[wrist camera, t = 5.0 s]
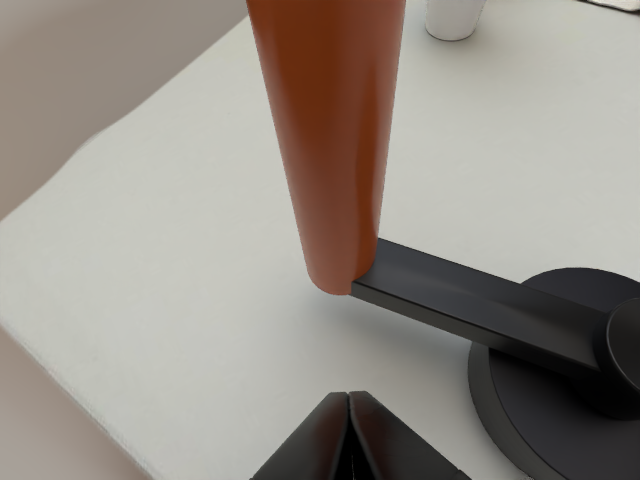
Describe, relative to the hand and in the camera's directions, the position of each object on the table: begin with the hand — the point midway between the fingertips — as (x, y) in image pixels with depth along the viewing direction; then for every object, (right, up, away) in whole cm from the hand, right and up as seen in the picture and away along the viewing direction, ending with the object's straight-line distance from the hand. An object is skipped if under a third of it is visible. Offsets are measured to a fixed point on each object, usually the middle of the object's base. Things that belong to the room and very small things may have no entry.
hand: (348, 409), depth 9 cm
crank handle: (+5, +1, +6) cm, 8 cm away
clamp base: (+10, -2, +8) cm, 13 cm away
